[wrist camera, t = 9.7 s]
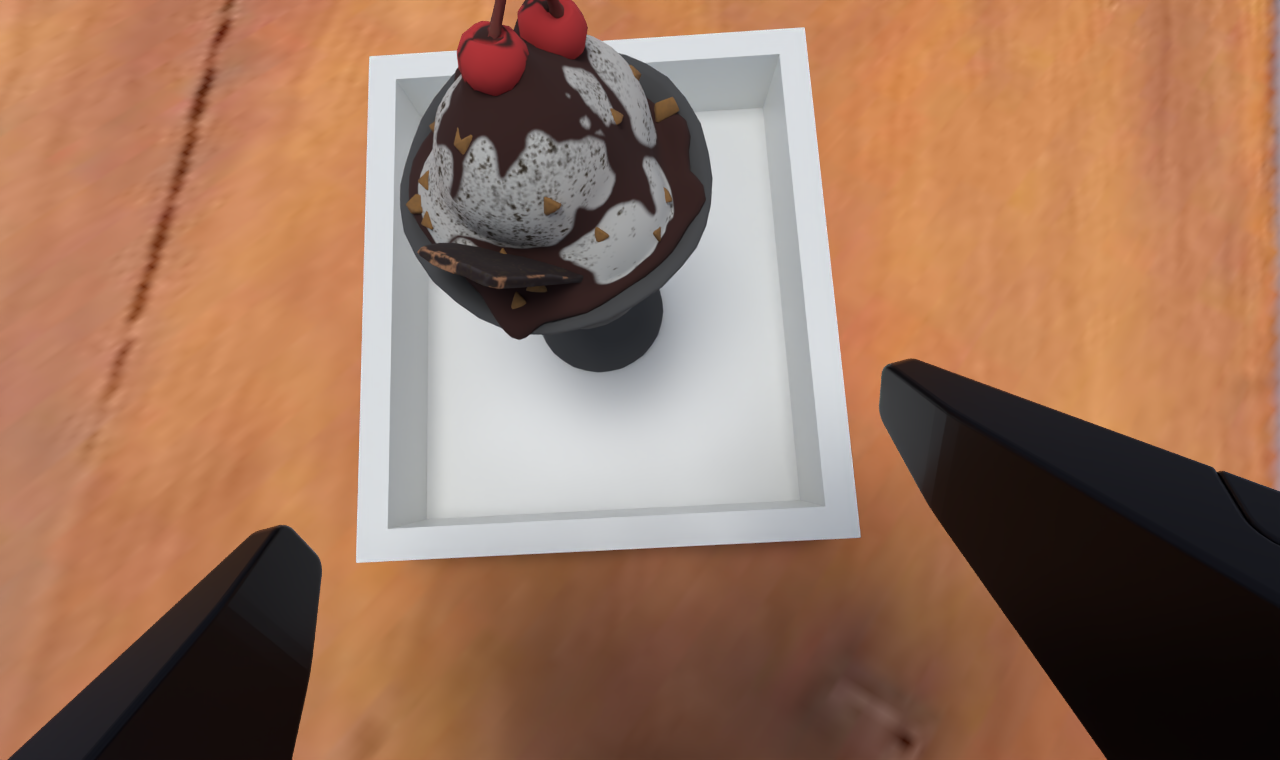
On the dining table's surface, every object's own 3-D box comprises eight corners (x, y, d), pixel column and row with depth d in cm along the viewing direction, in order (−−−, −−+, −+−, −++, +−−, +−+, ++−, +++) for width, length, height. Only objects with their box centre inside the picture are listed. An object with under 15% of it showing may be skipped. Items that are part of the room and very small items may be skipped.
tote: (821, 523, 21) (860, 537, 17) (411, 544, 21) (356, 562, 17) (779, 100, 24) (804, 27, 20) (416, 123, 24) (369, 56, 20)
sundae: (626, 200, 22) (569, -337, 7) (716, 336, 21) (863, 37, 6) (486, 283, 22) (123, -104, 7) (571, 426, 21) (365, 333, 6)
